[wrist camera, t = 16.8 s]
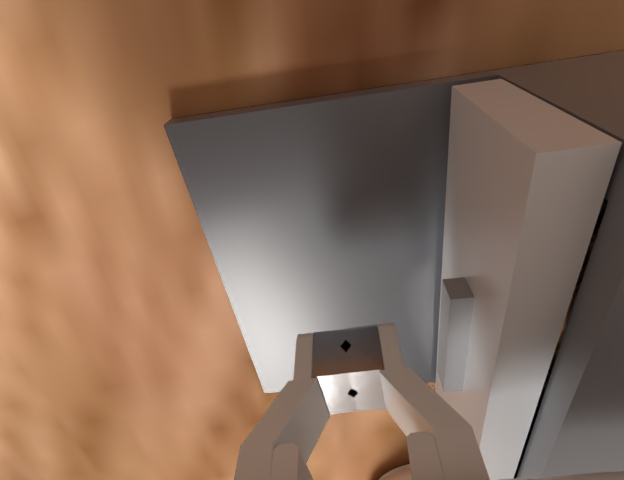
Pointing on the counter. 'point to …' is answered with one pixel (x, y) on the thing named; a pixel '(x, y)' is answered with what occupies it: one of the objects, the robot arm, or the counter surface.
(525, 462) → the housing
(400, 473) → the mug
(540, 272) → the white bracket
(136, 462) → the counter surface
